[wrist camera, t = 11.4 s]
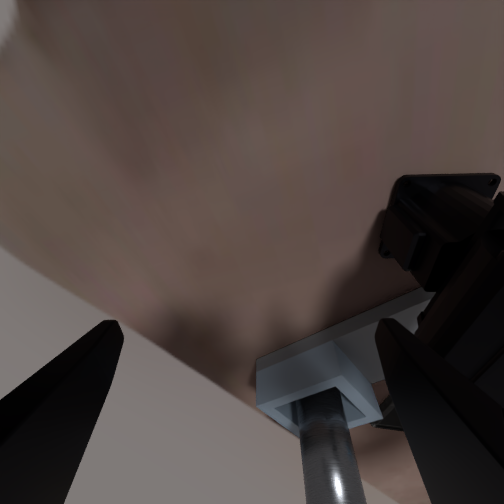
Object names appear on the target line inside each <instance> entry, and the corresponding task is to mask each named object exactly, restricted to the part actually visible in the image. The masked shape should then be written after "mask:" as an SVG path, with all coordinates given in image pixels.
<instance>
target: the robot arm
mask: <svg viewBox="0 0 504 504" xmlns="http://www.w3.org/2000/svg"><path fill="white" fill-rule="evenodd" d="M491 179H492V181H491V182H490V183H489V184H488V182H489V181H490V180H491ZM405 181H408V184H407V185H405V186H403V184H404V182H405ZM500 181H501V177H500V176H499V175H497V174H494V173H468V174H421V175H403V176H402V177H400V178H399V179H398V181H397V184H396V188H395V191H394V195H393V199H392V203H391V205H390V206H389V207H388V208H387V212H386V216H385V220H384V223H383V227H382V231H381V235H380V238H381V243H380V247H379V254H380V256H381V257H382V258H395V259H396V260H397V262H398V263H399V265H400V266H401V267H402V269H403V270H405V271H410V272H411V273H412V275H413V276H414V277H415V279H416V280H417V281H418V283H419V284H420V285H421V287H422V288H423V289H424V291H425V292H436V293H435V294H434V296H433V297H432V299H431V300H430V302H429V303H428V305H427V306H426V308H425V310H424V311H421V312H420V314H419V315H418V317H417V323H418V328H417V330H416V331H415V333H414V334H413V333H412V332H410V331H409V330H408V329H407V328H405V327H404V326H403V325H402V324H400V323H399V322H398V321H397V320H396V319H394V318H381V319H380V320H379V322H378V325H377V328H376V331H375V343H376V347H377V351H378V354H379V358H380V362H381V366H382V370H383V374H384V377H385V381H386V384H387V387H388V390H389V393H390V396H391V398H392V401H393V403H394V406H395V409H396V411H397V414H398V417H399V419H400V422H401V425H402V427H403V430H404V432H405V435H406V438H407V440H408V443H409V446H410V448H411V451H412V453H413V456H414V459H415V461H416V464H417V467H418V469H419V472H420V475H421V477H422V480H423V482H424V485H425V488H426V490H427V493H428V496H429V498H430V501H431V503H432V504H504V192H502V191H500V192H499V193H498V195H497V196H496V198H495V199H494V200H492V198H493V196H494V194H495V192H496V190H497V188H498V186H499V184H500ZM387 250H388V252H386V253H384V252H385V251H387ZM123 342H124V335H123V333H122V330H121V328H120V326H119V323H118V321H116V320H104V321H102V322H101V323H99V324H98V325H97V326H95V327H94V328H93V329H92V330H90V331H89V332H87V333H86V334H85V335H84V336H82V337H81V338H80V339H79V340H77V341H76V342H75V343H73V344H72V345H71V346H69V347H68V348H67V349H66V350H64V351H63V352H62V353H60V354H59V355H58V356H56V357H55V358H54V359H53V360H51V361H50V362H49V363H47V364H46V365H45V366H43V367H42V368H41V369H40V370H38V371H37V372H36V373H34V374H33V375H32V376H31V377H29V378H28V379H27V380H25V381H24V382H23V383H22V384H20V385H19V386H18V387H16V388H15V389H14V390H12V391H11V392H10V393H9V394H7V395H6V396H5V397H3V398H2V399H1V400H0V504H64V502H65V499H66V497H67V494H68V492H69V489H70V487H71V484H72V482H73V479H74V477H75V474H76V472H77V469H78V467H79V464H80V462H81V459H82V457H83V454H84V452H85V449H86V447H87V444H88V442H89V439H90V437H91V434H92V432H93V429H94V427H95V424H96V422H97V419H98V417H99V414H100V412H101V409H102V407H103V404H104V402H105V399H106V397H107V394H108V392H109V389H110V386H111V384H112V380H113V377H114V374H115V370H116V367H117V363H118V360H119V356H120V353H121V349H122V345H123Z"/></svg>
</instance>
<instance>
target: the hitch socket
mask: <svg viewBox="0 0 504 504" xmlns="http://www.w3.org/2000/svg"><path fill="white" fill-rule="evenodd" d="M435 293H436V292H425V291H424V289H423V288H422V287H420V288H418V289H416V290H413V291H411V292H409V293H407V294H404V295H402V296H400V297H398V298H395V299H393V300H391V301H388V302H386V303H384V304H382V305H379V306H377V307H375V308H372V309H370V310H368V311H366V312H363V313H361V314H359V315H357V316H354V317H352V318H350V319H347V320H345V321H343V322H341V323H338V324H336V325H334V326H331V327H329V328H327V329H325V330H322V331H320V332H318V333H315V334H313V335H311V336H309V337H306V338H304V339H302V340H300V341H297V342H295V343H293V344H290V345H288V346H286V347H284V348H281V349H279V350H277V351H274V352H272V353H270V354H268V355H265V356H263V357H261V358H259V359H256V407H258V408H259V409H260V410H262V411H263V412H264V413H266V414H267V415H269V416H270V417H271V418H273V419H274V420H275V421H277V422H278V423H280V424H281V425H282V426H284V427H285V428H286V429H288V430H289V431H291V432H292V433H293V434H295V435H296V436H297V437H299V438H300V435H299V425H298V416H297V406H296V400H298V399H301V398H304V397H307V396H309V395H312V394H315V393H318V392H321V391H323V390H326V389H329V388H332V387H335V386H336V387H337V388H338V389H339V390H340V394H341V399H342V403H343V407H344V411H345V415H346V419H347V424H348V428H353V427H356V426H360V425H363V424H366V423H370V422H373V421H377V420H380V419H383V416H382V413H381V411H380V408H379V405H378V402H377V399H376V397H375V394H374V391H373V388H372V385H371V384H373V383H376V382H378V381H381V380H384V379H385V377H384V374H383V370H382V366H381V362H380V358H379V354H378V351H377V347H376V343H375V331H376V328H377V325H378V322H379V320H380V319H381V318H394V319H396V320H397V321H398V322H399V323H400V324H402V325H403V326H404V327H405V328H407V329H408V330H409V331H410V332H412V333H413V334H414V333H415V331H416V330H417V328H418V323H417V317H418V315H419V314H420V312H421V311H424V310H425V308H426V306H427V305H428V303H429V302H430V300H431V299H432V297H433V296H434V294H435Z"/></svg>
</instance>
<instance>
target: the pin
mask: <svg viewBox="0 0 504 504" xmlns="http://www.w3.org/2000/svg"><path fill="white" fill-rule="evenodd" d="M296 406H297V416H298V425H299V435H300V445H301V455H302V464H303V474H304V484H305V494H306V504H367V503H366V499H365V495H364V490H363V487H362V482H361V478H360V474H359V470H358V465H357V461H356V457H355V453H354V449H353V445H352V440H351V436H350V432H349V428H348V424H347V419H346V415H345V411H344V407H343V403H342V399H341V394H340V390H339V389H338V388H337V387H336V386H335V387H332V388H329V389H326V390H323V391H321V392H318V393H315V394H312V395H309V396H307V397H304V398H301V399H298V400H296Z"/></svg>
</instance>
